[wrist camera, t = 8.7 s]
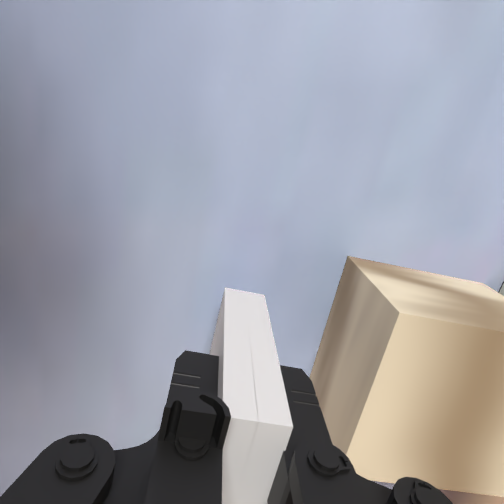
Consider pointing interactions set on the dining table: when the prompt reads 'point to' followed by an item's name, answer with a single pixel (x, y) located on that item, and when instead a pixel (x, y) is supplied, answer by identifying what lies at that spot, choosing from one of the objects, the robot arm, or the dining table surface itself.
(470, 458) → the birch block
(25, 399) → the dining table surface
